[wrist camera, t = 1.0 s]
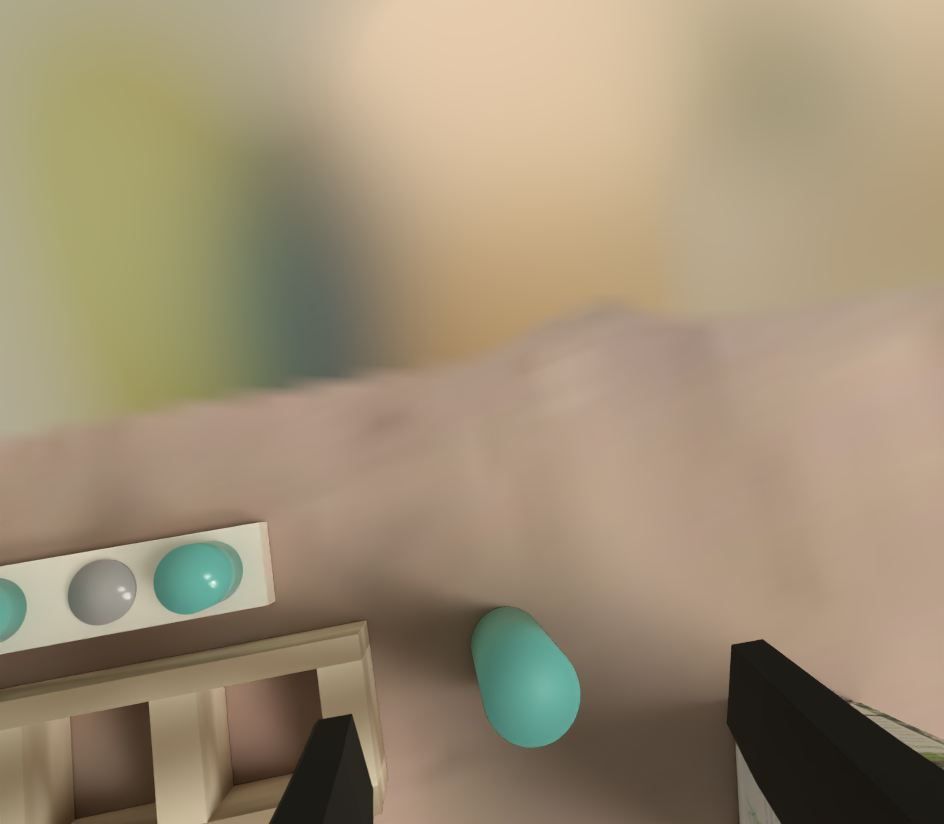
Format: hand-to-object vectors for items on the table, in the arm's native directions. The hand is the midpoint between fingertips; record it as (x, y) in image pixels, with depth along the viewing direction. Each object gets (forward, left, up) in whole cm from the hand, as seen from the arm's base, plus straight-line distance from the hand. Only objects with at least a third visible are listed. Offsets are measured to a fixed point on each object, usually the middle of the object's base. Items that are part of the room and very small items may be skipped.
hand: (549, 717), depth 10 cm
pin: (-2, -1, -13) cm, 13 cm away
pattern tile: (+3, +14, -13) cm, 20 cm away
